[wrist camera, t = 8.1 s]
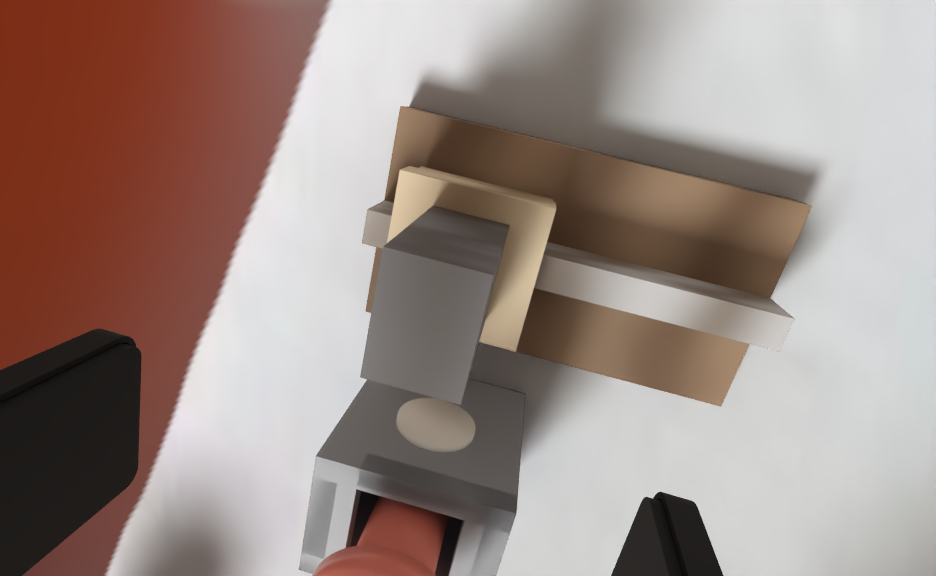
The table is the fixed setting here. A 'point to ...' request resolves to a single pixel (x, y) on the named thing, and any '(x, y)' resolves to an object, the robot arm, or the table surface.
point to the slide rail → (623, 255)
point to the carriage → (452, 279)
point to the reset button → (391, 543)
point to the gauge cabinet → (421, 472)
